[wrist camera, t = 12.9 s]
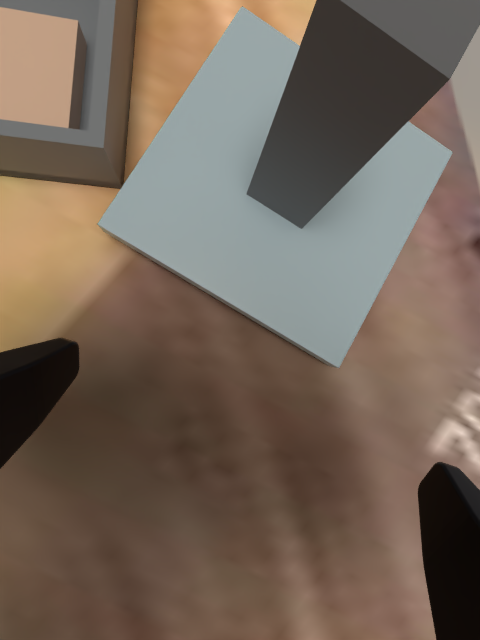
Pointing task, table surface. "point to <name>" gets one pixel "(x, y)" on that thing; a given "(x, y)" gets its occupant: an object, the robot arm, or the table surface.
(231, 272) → the slate lid
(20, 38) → the storage box
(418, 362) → the table surface
